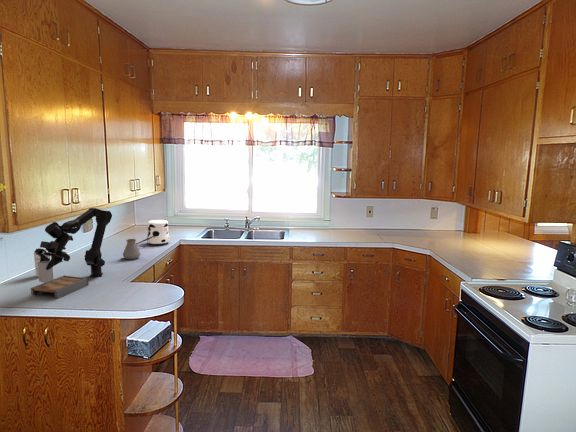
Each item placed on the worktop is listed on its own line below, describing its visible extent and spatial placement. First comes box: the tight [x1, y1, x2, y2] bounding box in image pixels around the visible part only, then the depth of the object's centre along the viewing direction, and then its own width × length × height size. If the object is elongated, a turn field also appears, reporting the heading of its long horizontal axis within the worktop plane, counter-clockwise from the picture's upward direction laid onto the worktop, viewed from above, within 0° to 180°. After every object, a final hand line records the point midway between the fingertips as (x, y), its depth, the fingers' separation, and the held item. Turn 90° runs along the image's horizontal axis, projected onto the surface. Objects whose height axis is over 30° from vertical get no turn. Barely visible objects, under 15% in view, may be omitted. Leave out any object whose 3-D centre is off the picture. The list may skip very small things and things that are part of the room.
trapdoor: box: [34, 277, 82, 294], centre depth 210 cm, size 19×12×4 cm, turn 166°
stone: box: [38, 260, 55, 283], centre depth 204 cm, size 4×4×10 cm
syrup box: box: [33, 249, 51, 278], centre depth 234 cm, size 6×6×14 cm
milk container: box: [146, 219, 171, 246], centre depth 318 cm, size 17×17×18 cm
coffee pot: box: [122, 236, 155, 260], centre depth 276 cm, size 21×12×15 cm, turn 108°
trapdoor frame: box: [30, 275, 90, 300], centre depth 211 cm, size 22×16×4 cm
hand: (43, 269), depth 203 cm, fingers closed on stone, 4 cm apart
